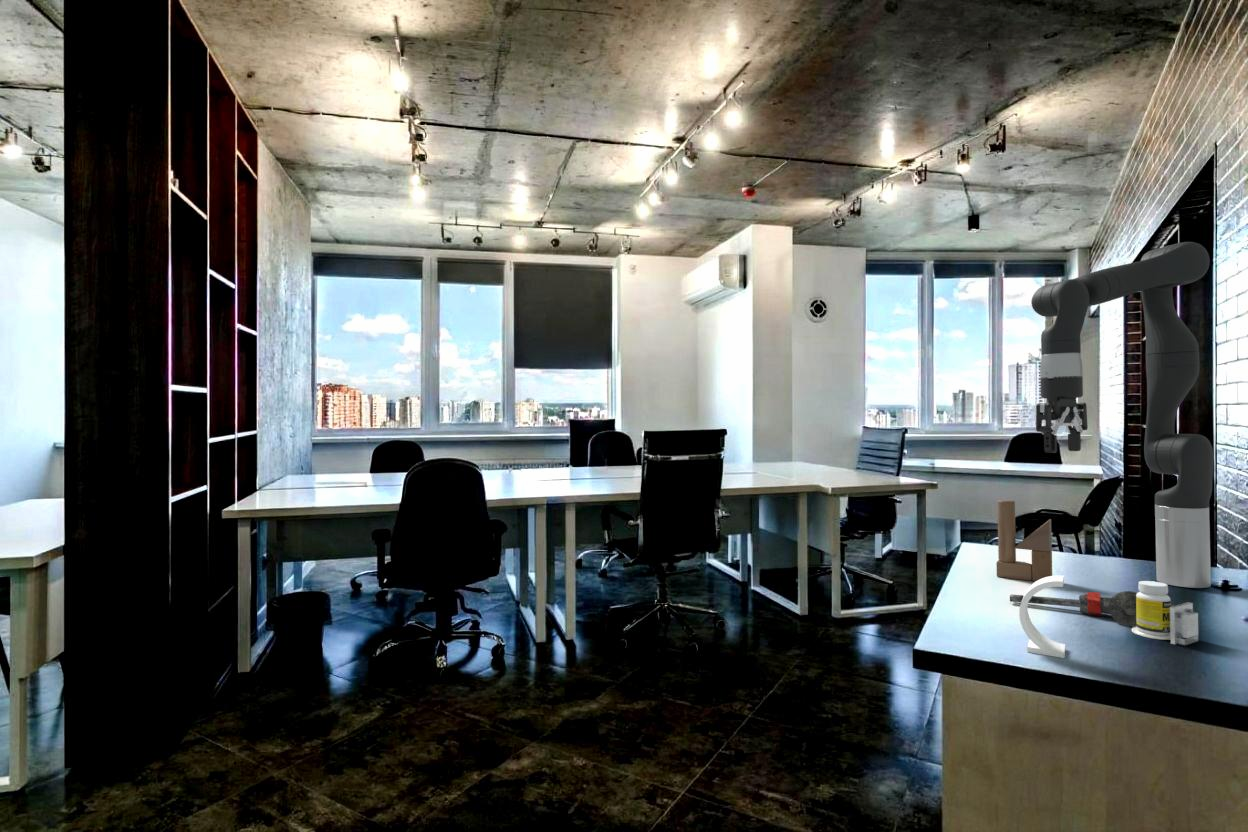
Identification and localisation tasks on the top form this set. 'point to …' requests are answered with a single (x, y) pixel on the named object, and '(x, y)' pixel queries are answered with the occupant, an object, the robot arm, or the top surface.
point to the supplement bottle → (1153, 608)
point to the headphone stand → (1036, 639)
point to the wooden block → (1022, 547)
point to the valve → (1095, 605)
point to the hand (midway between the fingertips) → (1062, 451)
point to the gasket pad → (1150, 635)
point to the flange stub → (1183, 624)
